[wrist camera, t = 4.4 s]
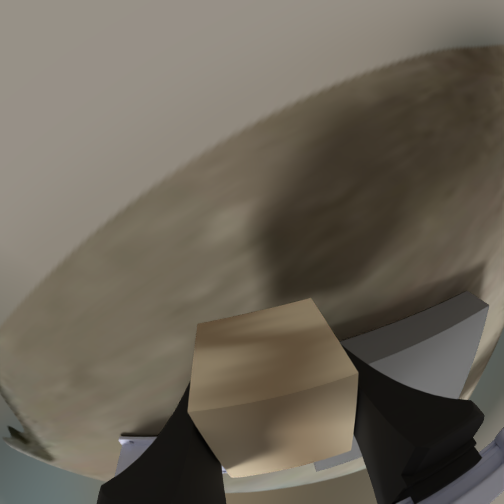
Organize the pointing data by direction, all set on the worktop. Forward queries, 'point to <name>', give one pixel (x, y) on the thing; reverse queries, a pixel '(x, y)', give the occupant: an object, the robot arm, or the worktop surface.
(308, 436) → the birch block
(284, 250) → the worktop surface
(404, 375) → the plate
